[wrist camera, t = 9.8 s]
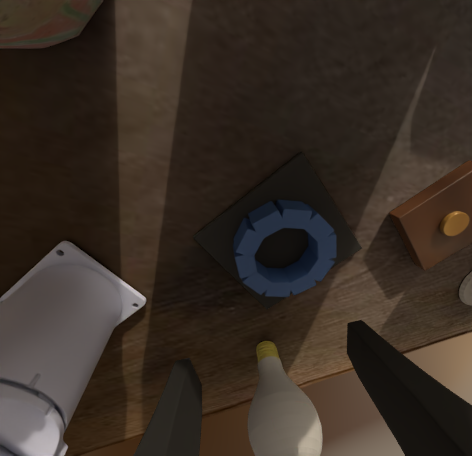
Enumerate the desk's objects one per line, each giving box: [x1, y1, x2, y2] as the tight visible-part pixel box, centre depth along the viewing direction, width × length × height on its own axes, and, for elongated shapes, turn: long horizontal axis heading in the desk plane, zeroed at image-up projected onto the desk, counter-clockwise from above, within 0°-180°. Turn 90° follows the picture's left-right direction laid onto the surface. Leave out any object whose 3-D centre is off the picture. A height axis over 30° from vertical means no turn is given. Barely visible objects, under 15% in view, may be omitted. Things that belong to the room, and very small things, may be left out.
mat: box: [193, 152, 362, 309], centre depth 19 cm, size 10×10×1 cm
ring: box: [233, 200, 336, 297], centre depth 18 cm, size 7×8×2 cm
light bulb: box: [248, 341, 322, 456], centre depth 19 cm, size 6×5×10 cm
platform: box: [389, 161, 472, 271], centre depth 18 cm, size 7×7×2 cm
